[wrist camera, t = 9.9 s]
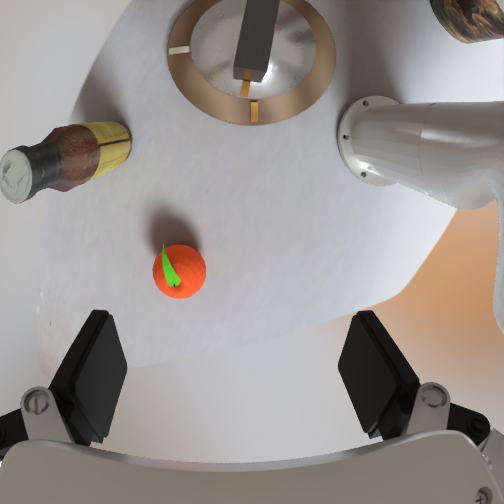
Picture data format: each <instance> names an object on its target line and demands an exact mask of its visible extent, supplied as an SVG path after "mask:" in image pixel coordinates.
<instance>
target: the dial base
mask: <svg viewBox="0 0 504 504" xmlns="http://www.w3.org/2000/svg"><path fill="white" fill-rule="evenodd" d="M221 1H223V0H196V1H195V2H193V3H192V4H191V5H190V6H189V7H188V8H187V9H186V10H185V11H184V12H183V13H182V14H181V16H180V17H179V18H178V20H177V22H176V23H175V25H174V27H173V29H172V32H171V34H170V38H169V41H168V49H167V58H168V65H169V70H170V73H171V75H172V78H173V80H174V82H175V84H176V86H177V87H178V89H179V90H180V91H181V93H182V94H183V95H184V96H185V97H186V98H187V99H188V100H189V101H190V102H191V103H192V104H193V105H195V106H196V107H197V108H199V109H200V110H201V111H203V112H205V113H206V114H208V115H210V116H212V117H214V118H217V119H219V120H222V121H226V122H229V123H233V124H240V125H265V124H270V123H276V122H279V121H282V120H286V119H289V118H291V117H293V116H295V115H298V114H299V113H301V112H303V111H304V110H306V109H307V108H309V107H310V106H311V105H312V104H314V103H315V102H316V101H317V100H318V99H319V98H320V97H321V95H322V94H323V93H324V91H325V90H326V89H327V87H328V85H329V83H330V81H331V79H332V76H333V73H334V69H335V63H336V50H335V43H334V40H333V36H332V34H331V31H330V29H329V27H328V25H327V24H326V22H325V21H324V19H323V18H322V16H321V15H320V14H319V13H318V12H317V11H316V10H315V9H314V8H313V7H312V6H311V5H310V4H309V3H307V2H306V1H305V0H280V1H283V2H285V3H287V4H288V5H290V6H292V7H293V8H294V9H296V10H297V11H298V12H299V13H300V14H301V15H302V16H303V17H304V18H305V19H306V20H307V22H308V23H309V25H310V27H311V28H312V31H313V33H314V37H315V41H316V56H315V60H314V63H313V66H312V68H311V70H310V71H309V73H308V74H307V76H306V77H305V78H304V79H303V80H302V81H301V82H300V83H299V84H298V85H296V86H295V87H293V88H292V89H291V90H289V91H287V92H285V93H283V94H281V95H278V96H276V97H272V98H268V99H261V100H248V99H240V98H235V97H232V96H229V95H227V94H224V93H222V92H220V91H218V90H217V89H215V88H214V87H212V86H211V85H210V84H209V83H208V82H207V81H206V80H205V79H204V78H203V77H202V76H201V74H200V73H199V72H198V70H197V68H196V66H195V64H194V62H193V59H192V56H191V50H190V42H191V36H192V33H193V29H194V27H195V25H196V23H197V22H198V20H199V19H200V18H201V16H202V15H203V14H204V13H205V12H206V11H207V10H209V9H210V8H211V7H213V6H214V5H216V4H217V3H219V2H221Z"/></svg>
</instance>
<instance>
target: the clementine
mask: <svg viewBox="0 0 504 504" xmlns="http://www.w3.org/2000/svg"><path fill="white" fill-rule="evenodd" d="M153 277H154V280H155V283H156V285H157V287H158V288H159V289H160V290H161V291H162V292H163V293H164V294H166V295H168V296H170V297H173V298H180V299H182V298H187V297H190V296H192V295H193V294H195V293H196V292H197V291H199V290H200V288H201V287H202V285H203V283H204V281H205V277H206V266H205V262H204V260H203V258H202V256H201V255H200V254H199V253H198V252H197V251H196V250H195V249H193V248H192V247H190V246H187V245H180V244H176V245H171V246H169V247H167V248H164V243H163V248H162V251H161V252H160V253H159V254H158V256H157V257H156V259H155V262H154V266H153Z"/></svg>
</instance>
